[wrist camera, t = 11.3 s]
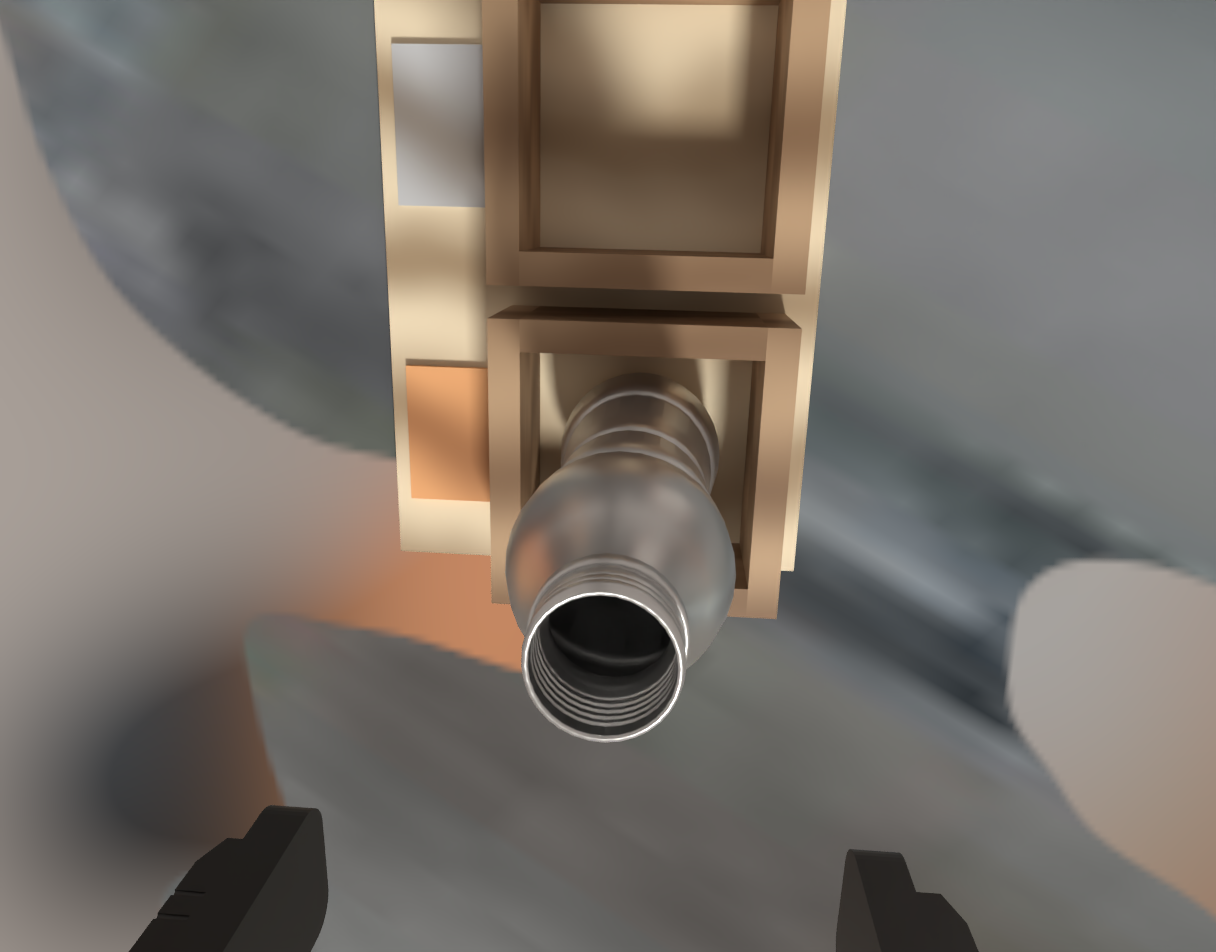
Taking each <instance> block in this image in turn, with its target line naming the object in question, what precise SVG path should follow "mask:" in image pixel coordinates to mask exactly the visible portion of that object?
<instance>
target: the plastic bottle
mask: <svg viewBox="0 0 1216 952" xmlns="http://www.w3.org/2000/svg"><path fill="white" fill-rule="evenodd" d="M719 456H720V454H719V442H718V436H717V433H716V429H715V426H714V423H713V421H712V419H711V417H710V415H709V413H708V411H707V410H706V408H705V407H704V406H703V405H702V403H701V402H700V401H699V400H698V398H697V397H696V396H695V395H693V394H692V393H691V392H690V391H689V390H687V389H686V388H685V387H684V386H682V385H680V384H679V383H677V382H675V381H673V380H671V379H669V378H667V377H664V376H660V375H657V374H652V373H641V372H640V373H630V374H623V375H620V376H617V377H614V378H611V379H608V380H606V381H604V382H602V383H601V384H599V385H597V386H595V387H594V388H593V389H592V390H590V391H589V392H588V393H587V394H586V395H585V396H584V397H582V399H581V400H580V401H579V403H578V404H577V405H576V406H575V408H574V409H573V411H572V413H571V415H570V417H569V419H568V421H567V423H566V426H565V429H564V433H563V437H562V446H561V468H560V469H559V470H557V471H556V472H555V473H553V474H552V475H551V476H550V477H549V478H548V479H546V480H545V481H544V482H543V483H542V484H541V485H540V486H539V487H538V489H537V490H536V491H535V492H534V494H533V495H532V496H531V498H530V499H529V500H528V502H527V503H526V504H525V505H524V507H523V508H522V509H521V511H520V513H519V515H518V517H517V519H516V521H515V523H514V525H513V527H512V529H511V533H510V537H509V541H508V545H507V549H506V564H505V575H506V581H507V588H508V594H509V599H510V604H511V608H512V611H513V613H514V616H515V619H516V621H517V624H518V627H519V628H520V630H521V632H522V633H523V635H524V636H525V638H524V642H523V645H522V660H521V662H522V664H521V667H522V673H523V680H524V683H525V686H526V688H527V691H528V694H529V696H530V698H531V699H532V701H533V702H534V704H535V706H536V707H537V709H538V710H539V711H540V712H541V713H542V714H543V715H544V716H545V717H546V719H547V720H549V721H550V722H551V723H553V724H554V725H555V726H557V727H558V728H559V729H561V730H563V731H565V732H567V733H569V734H571V735H573V736H575V737H579V738H582V739H585V740H589V741H597V742H618V741H623V740H627V739H631V738H635V737H637V736H639V735H641V734H644V733H646V732H648V731H649V730H651V729H652V728H654V727H655V726H656V725H658V724H659V723H660V722H661V721H662V720H663V719H664V718H665V717H666V716H667V715H668V714H669V713H670V712H671V710H672V708H673V707H674V705H675V703H676V701H677V700H678V697H679V695H680V692H681V689H682V686H683V683H684V680H685V671H686V669H687V668H688V667H690V666H691V665H692V664H694V663H695V662H696V661H697V660H698V659H699V658H700V657H701V655H702V654H703V653H704V652H705V651H706V650H707V649H708V648H709V646H710V645H711V643H712V641H713V640H714V638H715V636H716V634H717V633H718V631H719V629H720V628H721V626H722V624H723V623H724V621H725V619H726V617H727V614H728V611H729V608H730V606H731V603H732V600H733V596H734V588H735V580H736V569H735V556H734V551H733V547H732V544H731V540H730V537H729V534H728V531H727V528H726V525H725V521H724V519H723V518H722V516H721V514H720V512H719V510H718V508H717V506H716V504H715V502H714V501H713V500H712V498H711V496H710V494H711V491H712V488H713V484H714V481H715V478H716V475H717V472H718V464H719Z"/></svg>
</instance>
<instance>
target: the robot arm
mask: <svg viewBox="0 0 1216 952" xmlns="http://www.w3.org/2000/svg"><path fill="white" fill-rule="evenodd" d="M327 903H328V879H327V868H326V856H325V845H324V833H323V822H322V816H321V813H320V811H319V810H318V809H316V808H302V807H289V806H275V805H270V806H268V807H266V808H265V809H264V810H263V811H262V813H261V814H260V815H259V817H258V818H257V820H256V821H255V822H254V824H253V825H252V827H251V828H250V830H249V831H248V833H247V834H246V835H245V837H244V838H243V839H233V838H227V839H225V840H224V841H223V842H221V843H220V844H219V845H217V846H216V847H215V848H213V849H212V850H211V851H209V852H208V853H207V854H205V855H204V856H203V857H201V858H200V859H199V860H197V861H196V862H195V864H194V865H193V866H192V868H191V869H190V870H189V872H188V873H187V874H186V876H185V877H184V878H183V880H182V881H181V882H180V884H179V885H178V886H177V888H176V889H175V893H174V895H171V896H170V897H169V898H168V900H167V901H166V902H165V904H164V905H163V907H162V908H161V909H160V911H159V912H158V916H157V918H156V919H153V920H152V921H151V923H150V924H149V925H148V927H147V928H146V929H145V931H144V932H143V933H142V935H141V936H140V937H139V939H138V941H136V943H135V944H134V946H133V947H132V948H131V950H130V951H129V952H311V950H312V948H313V946H314V944H315V942H316V940H317V938H318V936H319V933H320V931H321V928H322V925H323V922H324V918H325V914H326V909H327ZM836 952H978V949H977V947H976V944H975V942H974V939H973V937H972V934H971V932H970V929H969V927H968V925H967V923H966V922H965V921H964V920H963V918H962V917H961V916H960V915H959V914H958V913H957V912H956V911H955V909H954V908H953V907H952V906H951V905H950V904H949V903H948V902H947V901H946V899H945V898H944V897H943V896H942V895H941V894H934V893H921V892H916V890H915V888H914V885H913V882H912V879H911V876H910V873H909V871H908V868H907V865H906V862H905V860H904V857H903V856H902V854H901V853H895V852H881V851H868V850H854V849H850V850H849V851H848V852H847V855H846V860H845V868H844V876H843V884H842V892H841V899H840V907H839V915H838V923H837V932H836Z"/></svg>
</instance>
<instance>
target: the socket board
mask: <svg viewBox="0 0 1216 952" xmlns="http://www.w3.org/2000/svg"><path fill="white" fill-rule="evenodd" d="M846 2H847V0H374V8H375V29H376V49H377V70H378V90H379V111H380V131H381V152H382V172H383V192H384V213H385V233H386V254H387V274H388V295H389V315H390V336H391V356H392V376H393V397H394V417H395V438H396V458H397V478H398V499H399V518H400V538H401V539H400V540H401V551H416V552H436V553H454V554H474V555H475V554H476V555H491V587H492V588H491V592H492V603H499V604H510V599H509V594H508V588H507V581H506V575H505V564H506V549H507V545H508V541H509V537H510V533H511V529H512V527H513V525H514V523H515V521H516V519H517V517H518V515H519V513H520V511H521V509H522V508H523V507H524V505H525V504H526V503H527V502H528V500H529V499H530V498H531V496H532V495H533V494H534V492H535V491H536V490H537V489H538V487H539V486H540V485H541V484H542V483H543V482H544V481H545V480H546V479H548V478H549V477H550V476H551V475H552V474H553V473H555V472H556V471H557V470H559V469H560V468H561V446H562V437H563V433H564V429H565V426H566V423H567V421H568V419H569V417H570V415H571V413H572V411H573V409H574V408H575V406H576V405H577V404H578V403H579V401H580V400H581V399H582V397H584V396H585V395H586V394H587V393H588V392H589V391H590V390H592V389H593V388H594V387H595V386H597V385H599V384H601V383H602V382H604V381H606V380H608V379H611V378H614V377H617V376H620V375H623V374H630V373H640V372H641V373H652V374H657V375H660V376H664V377H667V378H669V379H671V380H673V381H675V382H677V383H679V384H680V385H682V386H684V387H685V388H686V389H687V390H689V391H690V392H691V393H692V394H693V395H695V396H696V397H697V398H698V400H699V401H700V402H701V403H702V405H703V406H704V407H705V408H706V410H707V411H708V413H709V415H710V417H711V419H712V421H713V423H714V426H715V429H716V433H717V436H718V442H719V454H720V456H719V464H718V472H717V475H716V478H715V481H714V484H713V488H712V491H711V494H710V496H711V498H712V500H713V501H714V502H715V504H716V506H717V508H718V510H719V512H720V514H721V516H722V518H723V519H724V521H725V525H726V528H727V531H728V534H729V537H730V540H731V544H732V547H733V551H734V556H735V569H736V580H735V588H734V596H733V600H732V603H731V606H730V608H729V611H728V614H727V616H731V617H749V618H767V619H776V618H777V607H778V596H779V585H780V573H781V571H794V560H795V550H796V539H797V528H798V517H799V507H800V496H801V485H802V474H803V464H804V453H805V442H806V431H807V421H808V410H809V399H810V388H811V378H812V367H813V356H814V346H815V335H816V324H817V313H818V303H819V292H820V281H821V270H822V260H823V249H824V238H825V227H826V217H827V206H828V195H829V185H830V174H831V163H832V152H833V142H834V131H835V120H836V109H837V99H838V88H839V77H840V66H841V56H842V45H843V34H844V23H845V13H846Z"/></svg>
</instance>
